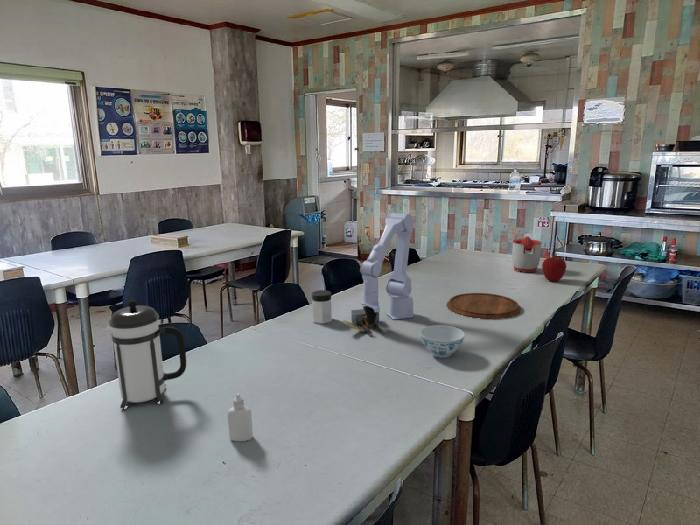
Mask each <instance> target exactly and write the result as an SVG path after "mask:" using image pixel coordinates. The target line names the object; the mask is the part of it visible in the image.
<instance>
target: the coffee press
mask: <svg viewBox="0 0 700 525" xmlns="http://www.w3.org/2000/svg"><path fill="white" fill-rule="evenodd" d="M159 318H160V316H159V313H158V312H157V311H156V310H155V308H153V307H151V306H148V305H138V303H137V301H136V300H134V299H132V300H130V301H128V302H127V306H126V307H122V308H120V309H118V310H116V311H115V312H114V313H113V314H111V317H110V319H109V320H108V325H107V326H106V327H105V330H104V331H105V332H108V331H109V332H111V333H110V334H111V341H112V342H113V348H114V354H115V356H114V357H115V363H116V370H117V378H118V379H117V380H118V384H119V392H120V396H121V398H122V402H121V404H120V407H119V408H120V409H121V408H123V409H122V410H124V407H125V405H126V406H129V407H130V405H131V404H133V403H143V402H148V401H151V400H154V401H155V402H156V403H157V402H159V401H160V403H161V404H163V403H164V402H165V399H164V397H163V396H162V394H163V392H164V391H165V388H166V387H167V386H166V383H165V381H170V380H174V379H177V378H179V377H181V376H182V375H184V373H185V371H186V368H187V354H186V353H187V352H186V344H185V339H184V335H183V334H182V331H180V330H179V329H178V328H177V327H174V326H164V327H160V325H159ZM160 334H172V335H174V336H175V338H176V339H177V345H178V356H179V363H180V364H179V368H178V369H177V370H176V371H174V372H169V373H168V372H167V373H165V371H164V364H163V357H162V346H161V337H160ZM165 386H166V387H165ZM162 402H163V403H162Z"/></svg>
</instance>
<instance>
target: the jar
mask: <svg viewBox="0 0 700 525" xmlns="http://www.w3.org/2000/svg"><path fill="white" fill-rule="evenodd" d="M311 303H312V304H311V305H312V306H311V308H312V309H311V311H312V322H313V323H315V324H320V325H323V324H327V323H331V322H333V320H332V319H333V316H332V314H333V313H332V292H331V291H329V290H323V289H322V290H320V289H319V290H314V291H312V292H311Z"/></svg>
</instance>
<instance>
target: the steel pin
mask: <svg viewBox="0 0 700 525" xmlns="http://www.w3.org/2000/svg"><path fill="white" fill-rule="evenodd" d="M363 324H364V325H365V326H366V327H367V328H368V329H369V328H371V329H372V328H374V325H373V324H372V325H369V324H368V321H367V316H366V315H365V316H363Z"/></svg>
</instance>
